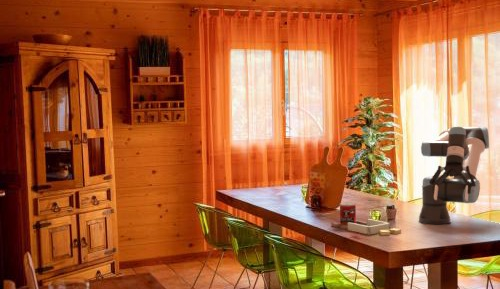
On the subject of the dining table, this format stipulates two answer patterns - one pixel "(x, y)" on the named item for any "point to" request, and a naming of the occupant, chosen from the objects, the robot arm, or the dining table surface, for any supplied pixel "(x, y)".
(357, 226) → the tray
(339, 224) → the slot rails
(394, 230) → the chip
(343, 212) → the canned food
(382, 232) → the chip
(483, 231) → the dining table surface
